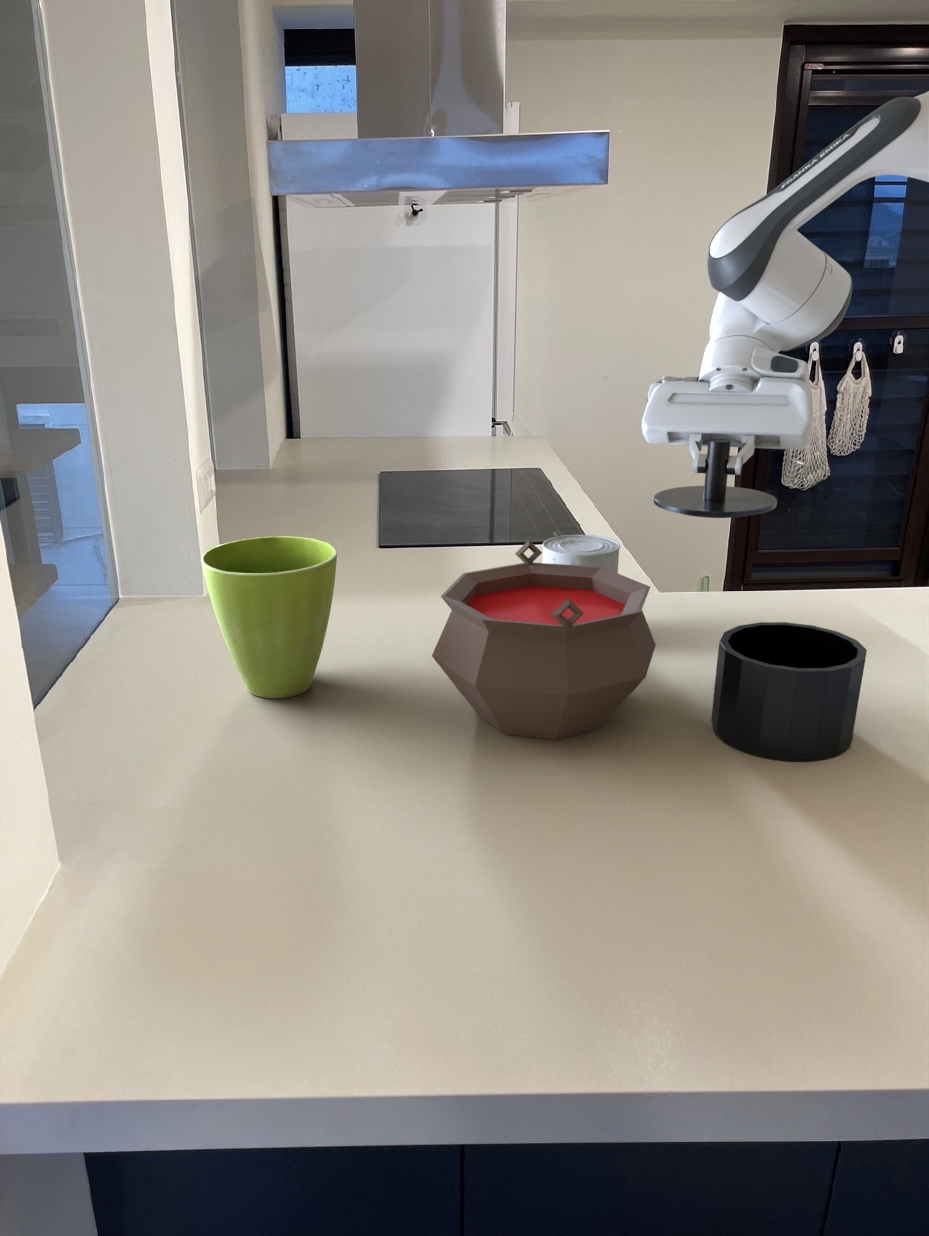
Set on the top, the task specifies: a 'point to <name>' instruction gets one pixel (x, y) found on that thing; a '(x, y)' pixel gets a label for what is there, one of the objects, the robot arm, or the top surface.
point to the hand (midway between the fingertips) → (716, 471)
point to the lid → (715, 491)
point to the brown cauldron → (545, 645)
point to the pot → (787, 690)
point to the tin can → (582, 551)
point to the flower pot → (273, 608)
